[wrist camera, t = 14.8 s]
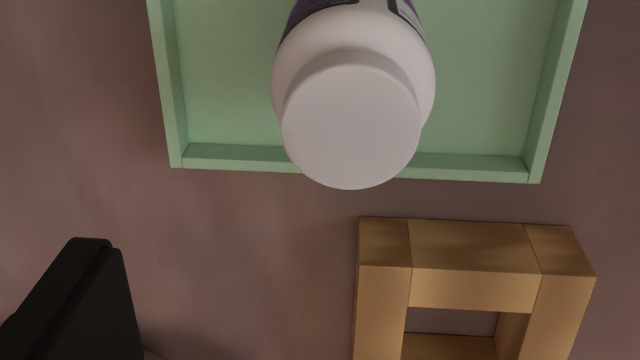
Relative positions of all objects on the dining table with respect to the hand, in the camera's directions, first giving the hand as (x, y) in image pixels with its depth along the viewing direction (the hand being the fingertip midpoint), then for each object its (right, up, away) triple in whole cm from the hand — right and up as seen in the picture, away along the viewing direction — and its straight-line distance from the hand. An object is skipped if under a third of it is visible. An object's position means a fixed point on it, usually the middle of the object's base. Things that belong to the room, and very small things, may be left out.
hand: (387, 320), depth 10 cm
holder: (+6, -8, +25) cm, 27 cm away
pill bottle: (0, +9, +14) cm, 17 cm away
